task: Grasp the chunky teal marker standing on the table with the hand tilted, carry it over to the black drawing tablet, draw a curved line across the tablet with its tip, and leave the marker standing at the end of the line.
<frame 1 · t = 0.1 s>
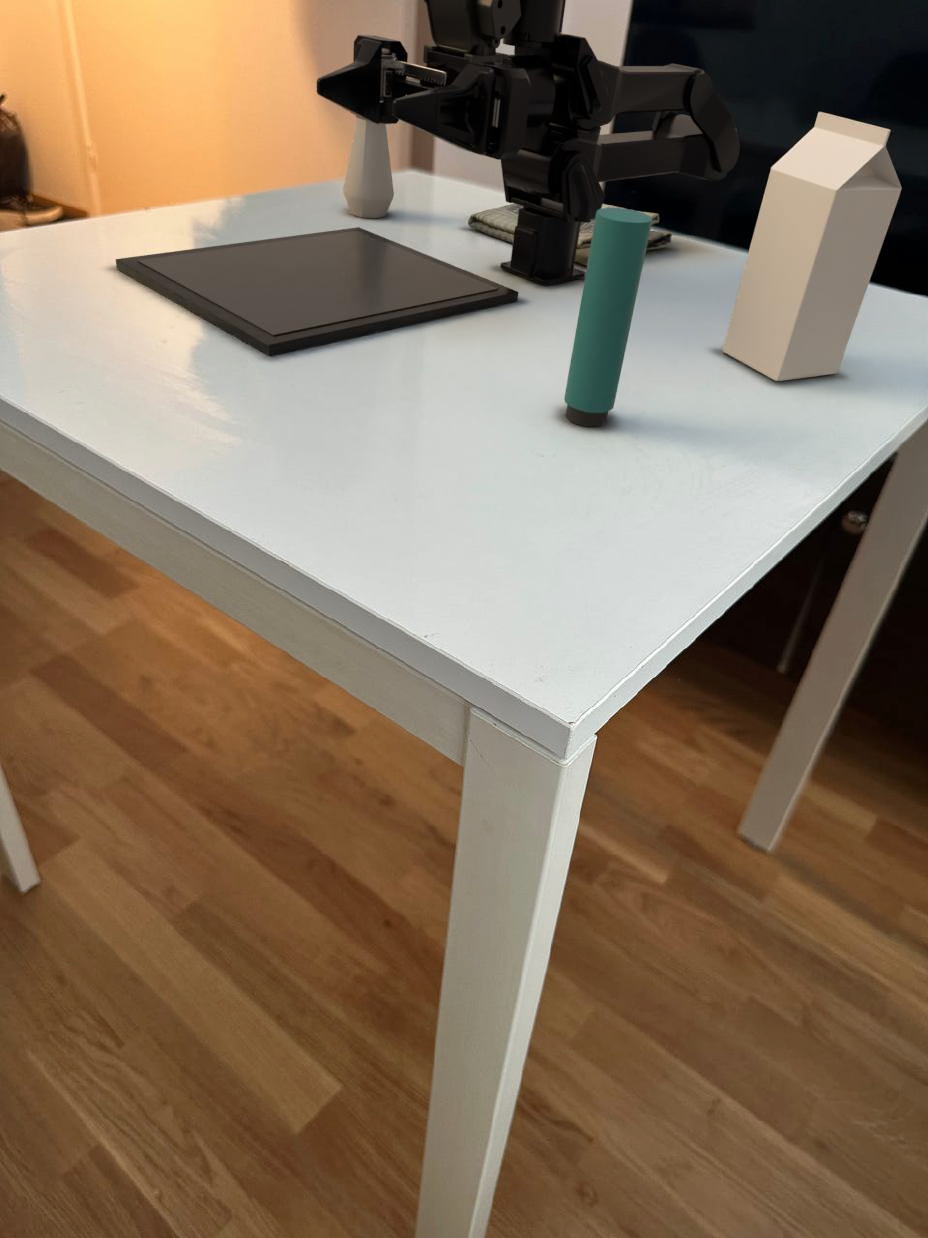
hand: (354, 96, 71), 17 cm above the table, tool horizontal, fingers open, 9 cm apart
marker: (586, 418, 67), on the table
tablet: (321, 285, 86), on the table
milk carton: (777, 366, 81), on the table
salt shaker: (367, 215, 109), on the table
dish towel: (570, 240, 108), on the table
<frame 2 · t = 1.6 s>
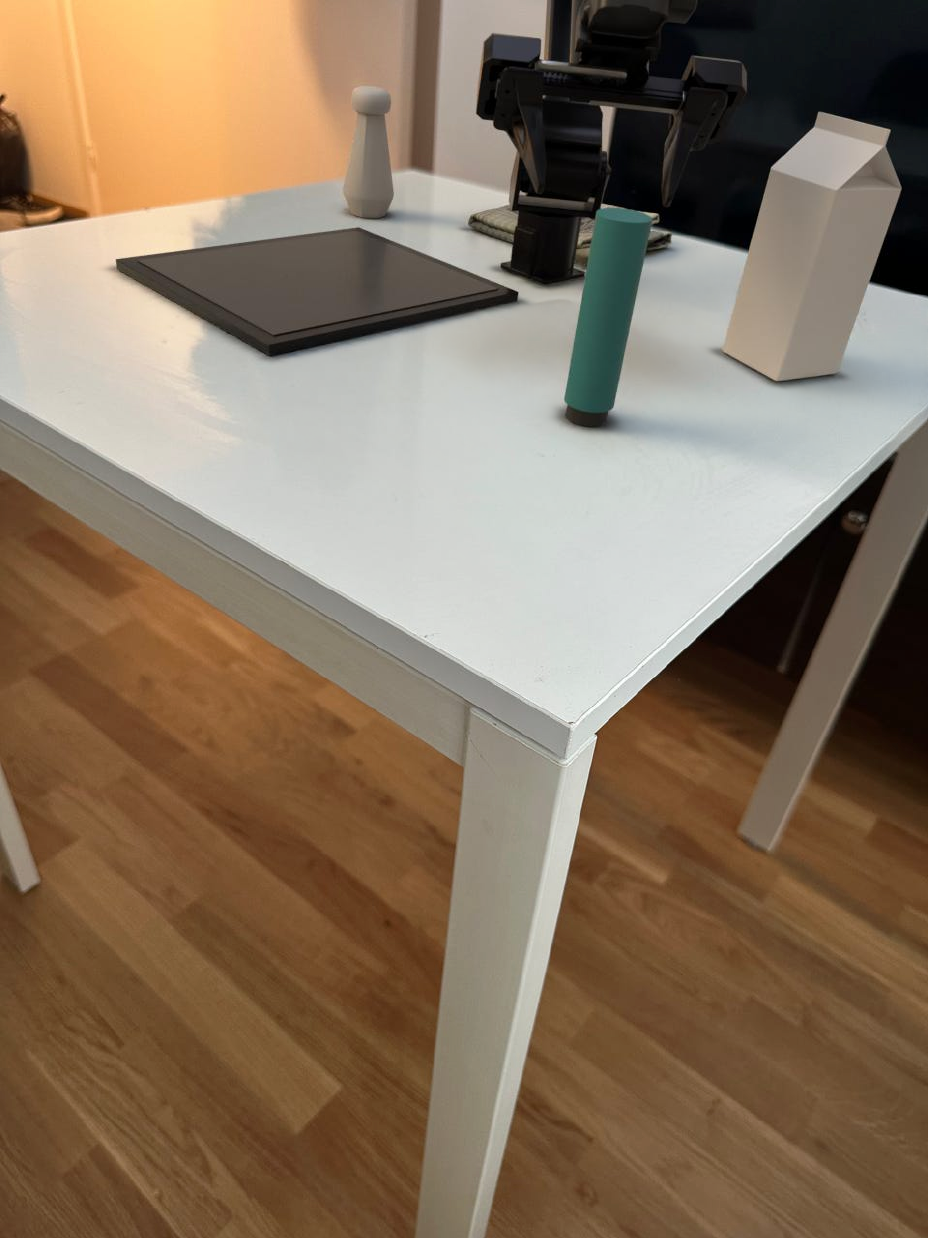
hand: (604, 196, 66), 13 cm above the table, tool tilted 45°, fingers open, 9 cm apart
nothing on the table moved.
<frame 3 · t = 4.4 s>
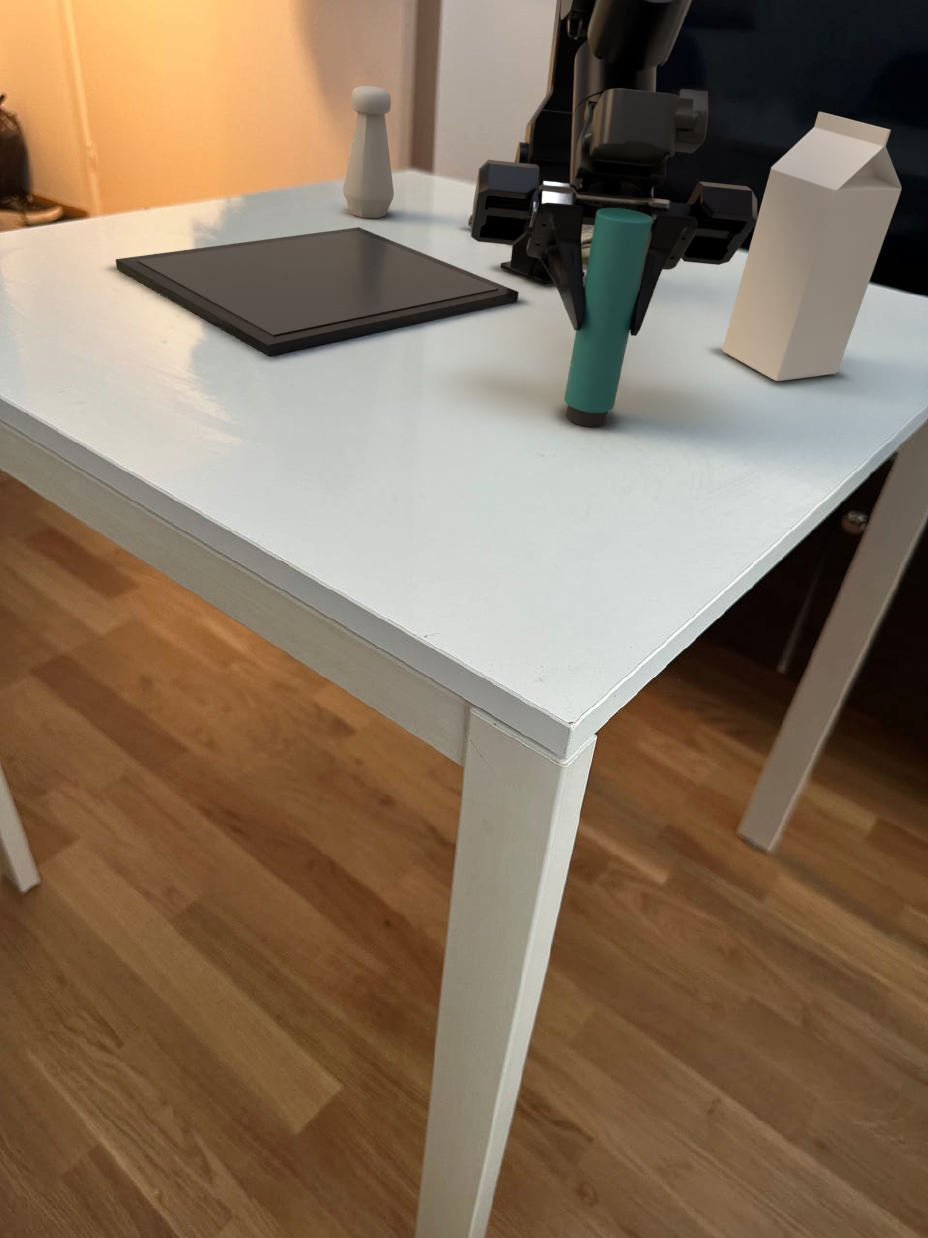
hand: (606, 330, 62), 7 cm above the table, tool tilted 45°, fingers closed on marker, 3 cm apart
marker: (586, 418, 67), on the table, touching gripper
everything else where it was.
when the fingers open (8 cm above the table, at t = 13.3 s): marker stays where it is, resting on tablet.
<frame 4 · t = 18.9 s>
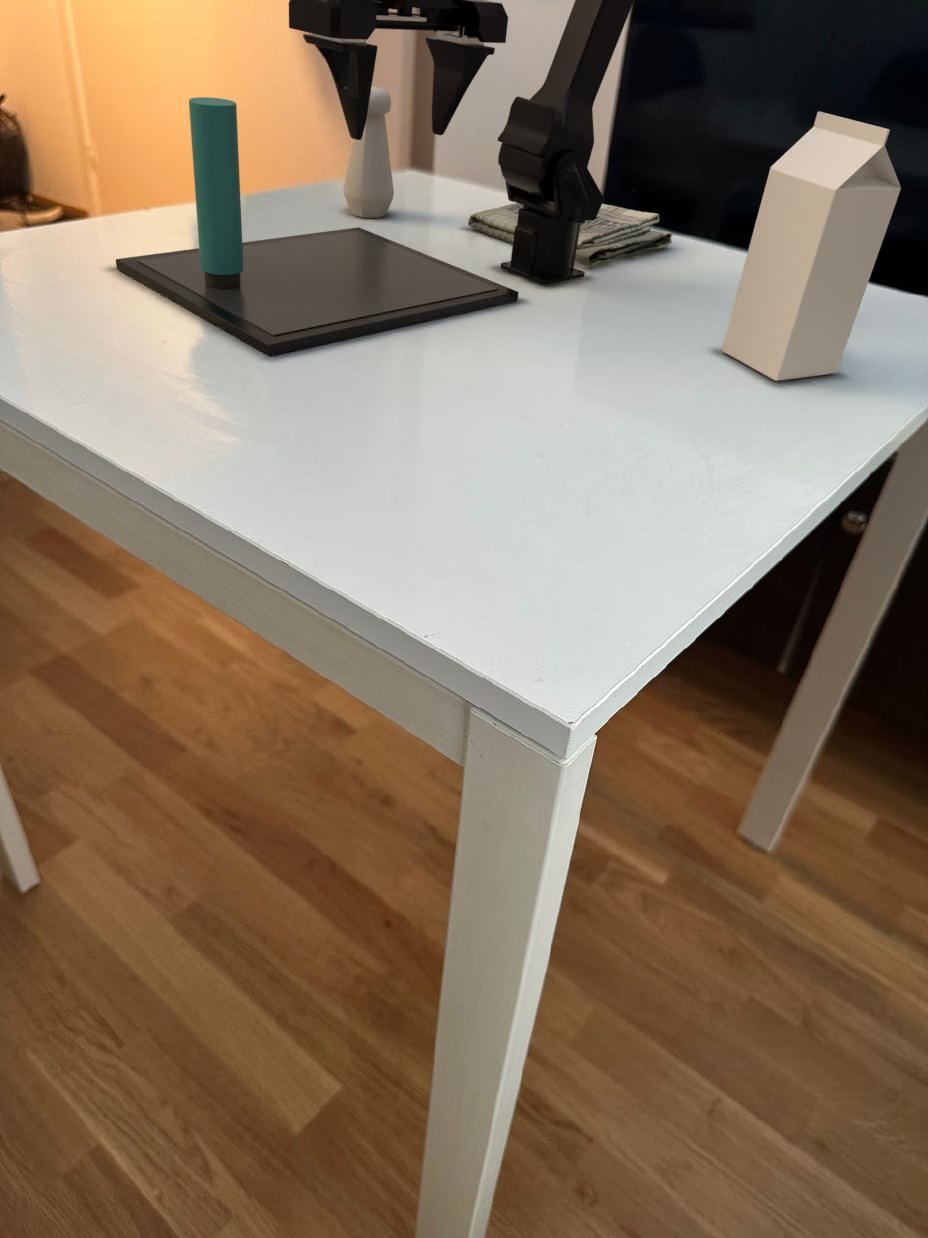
hand: (398, 136, 79), 13 cm above the table, tool pointing down, fingers open, 9 cm apart
marker: (222, 282, 80), point 1 cm above the table, touching tablet
everything else where it was.
at the end: marker inside the target area on the tablet (1.2 cm from its centre), point 1.0 cm above the tablet's base; marker tilted 0°; the gripper is holding nothing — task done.
